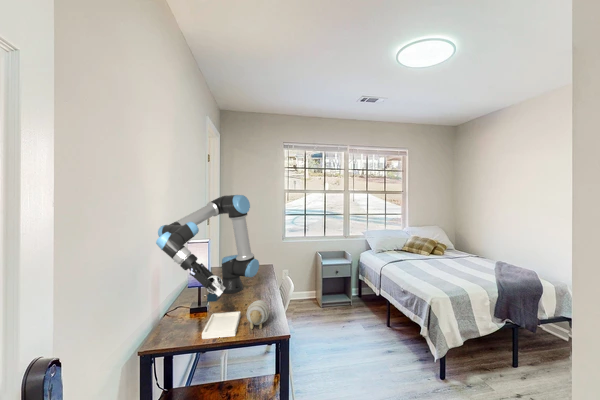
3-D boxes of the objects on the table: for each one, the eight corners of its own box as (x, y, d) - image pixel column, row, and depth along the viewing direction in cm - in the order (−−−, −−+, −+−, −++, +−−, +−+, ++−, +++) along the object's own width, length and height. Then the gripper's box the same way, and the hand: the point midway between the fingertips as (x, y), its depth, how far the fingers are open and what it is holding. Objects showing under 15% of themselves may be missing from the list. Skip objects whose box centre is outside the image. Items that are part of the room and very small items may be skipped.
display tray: (212, 318, 129) (212, 313, 129) (240, 316, 130) (240, 311, 130) (201, 339, 109) (201, 333, 109) (235, 336, 110) (234, 330, 111)
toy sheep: (243, 333, 112) (243, 308, 112) (250, 317, 129) (250, 295, 129) (267, 333, 112) (266, 307, 113) (271, 316, 129) (270, 294, 129)
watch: (220, 301, 117) (220, 277, 117) (203, 301, 117) (203, 277, 118) (224, 297, 123) (224, 274, 123) (208, 297, 123) (207, 274, 123)
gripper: (186, 260, 128) (220, 291, 129) (172, 269, 110) (211, 305, 111) (197, 249, 128) (231, 280, 130) (184, 257, 111) (223, 292, 112)
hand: (222, 292), depth 120 cm, fingers closed on watch, 5 cm apart
